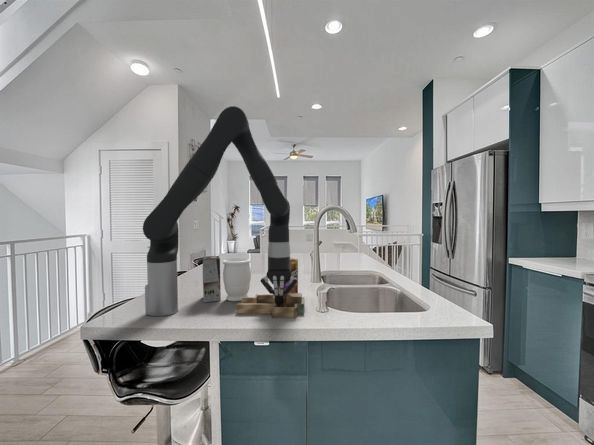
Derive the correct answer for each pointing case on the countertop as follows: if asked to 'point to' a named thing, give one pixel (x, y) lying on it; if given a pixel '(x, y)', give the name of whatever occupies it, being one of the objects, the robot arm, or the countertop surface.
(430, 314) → the countertop surface
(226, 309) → the countertop surface
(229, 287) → the jar
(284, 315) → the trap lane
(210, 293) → the coffee box
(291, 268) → the candy box
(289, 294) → the block
